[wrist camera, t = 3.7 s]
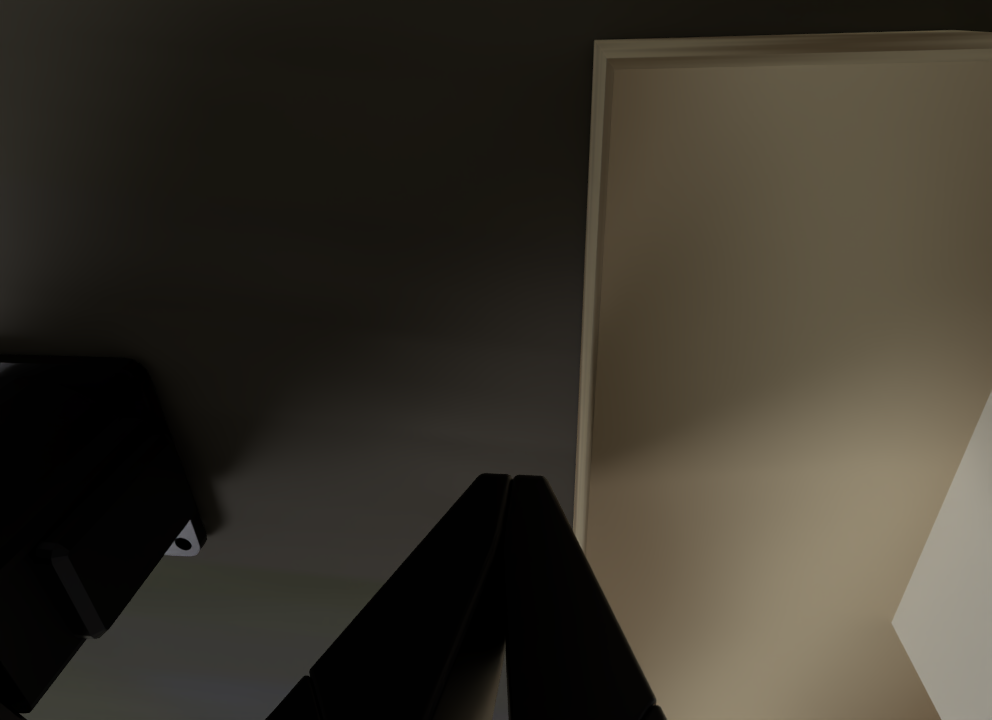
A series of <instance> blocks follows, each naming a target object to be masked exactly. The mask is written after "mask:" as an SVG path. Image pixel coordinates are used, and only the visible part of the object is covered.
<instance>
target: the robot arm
mask: <svg viewBox="0 0 992 720" xmlns="http://www.w3.org/2000/svg"><path fill="white" fill-rule="evenodd" d="M123 376H124V377H126V378H127V379H128V380H129V381H130V383H129V382H128V381H127V380H125V379H124V377H123ZM206 540H207V535H206V532H205V529H204V527H203V524H202V521H201V518H200V515H199V513H198V510H197V507H196V504H195V501H194V499H193V496H192V493H191V490H190V487H189V485H188V482H187V479H186V476H185V473H184V470H183V468H182V465H181V462H180V459H179V456H178V454H177V451H176V448H175V445H174V442H173V440H172V437H171V434H170V431H169V428H168V425H167V423H166V420H165V417H164V414H163V411H162V409H161V406H160V403H159V400H158V397H157V395H156V392H155V389H154V386H153V383H152V381H151V378H150V375H149V373H148V372H147V370H146V369H145V368H144V367H143V366H142V365H141V364H140V363H138V362H136V361H135V360H133V359H128V358H111V357H75V356H39V355H3V354H0V720H27V719H25V718H24V717H23V716H22V715H20V714H19V713H30V712H31V711H32V710H33V708H34V707H35V706H36V704H37V703H38V702H39V700H40V699H41V698H42V697H43V695H44V694H45V693H46V691H47V690H48V689H49V687H50V686H51V685H52V684H53V682H54V681H55V680H56V678H57V677H58V676H59V674H60V673H61V672H62V670H63V669H64V668H65V667H66V665H67V664H68V663H69V661H70V660H71V659H72V657H73V656H74V655H75V653H76V652H77V651H78V650H79V648H80V647H81V646H82V644H83V643H84V642H85V640H86V639H87V638H88V639H97V638H100V637H101V636H102V635H103V634H104V633H105V632H106V631H107V630H108V629H109V628H110V627H111V626H112V624H113V623H114V622H115V620H116V619H117V618H118V616H119V615H120V614H121V612H122V611H123V610H124V608H125V607H126V606H127V604H128V603H129V602H130V600H131V599H132V597H133V596H134V595H135V593H136V592H137V591H138V589H139V588H140V587H141V585H142V584H143V583H144V581H145V580H146V579H147V577H148V576H149V575H150V573H151V572H152V571H153V569H154V568H155V567H156V565H157V564H158V562H159V561H160V560H161V558H162V557H163V556H164V555H175V556H194V555H196V554H198V553H199V551H200V550H201V548H202V547H203V545H204V544H205V542H206ZM505 645H506V673H507V695H508V717H509V720H667V718H666V716H665V714H664V712H663V710H662V708H661V707H660V706H659V705H656V703H657V700H656V697H655V695H654V693H653V691H652V689H651V687H650V685H649V683H648V681H647V679H646V677H645V675H644V673H643V671H642V669H641V667H640V665H639V663H638V661H637V659H636V657H635V655H634V653H633V650H632V648H631V646H630V644H629V642H628V640H627V638H626V636H625V634H624V632H623V630H622V628H621V626H620V624H619V622H618V620H617V618H616V616H615V614H614V612H613V610H612V608H611V606H610V604H609V602H608V600H607V598H606V596H605V594H604V592H603V590H602V588H601V586H600V584H599V582H598V580H597V578H596V576H595V574H594V572H593V570H592V568H591V566H590V564H589V562H588V560H587V558H586V556H585V554H584V552H583V550H582V548H581V546H580V544H579V542H578V540H577V538H576V536H575V534H574V532H573V530H572V528H571V526H570V524H569V522H568V520H567V518H566V516H565V514H564V512H563V510H562V508H561V506H560V504H559V502H558V500H557V498H556V496H555V494H554V492H553V490H552V488H551V486H550V484H549V482H548V480H547V479H546V478H545V477H544V476H534V475H517V476H515V477H514V479H512V477H511V476H510V475H508V474H491V473H484V474H481V475H479V476H478V477H477V478H476V479H475V481H474V482H473V483H472V484H471V485H470V486H469V487H468V489H467V490H466V491H465V492H464V493H463V494H462V495H461V497H460V498H459V499H458V500H457V501H456V502H455V503H454V505H453V506H452V507H451V508H450V509H449V510H448V512H447V513H446V514H445V515H444V516H443V517H442V518H441V520H440V521H439V522H438V523H437V524H436V525H435V526H434V528H433V529H432V530H431V531H430V532H429V533H428V534H427V536H426V537H425V538H424V539H423V540H422V541H421V543H420V544H419V545H418V546H417V547H416V548H415V549H414V551H413V552H412V553H411V554H410V555H409V556H408V557H407V559H406V560H405V561H404V562H403V563H402V564H401V565H400V567H399V568H398V569H397V570H396V571H395V572H394V574H393V575H392V576H391V577H390V578H389V579H388V580H387V582H386V583H385V584H384V585H383V586H382V587H381V588H380V590H379V591H378V592H377V593H376V594H375V595H374V596H373V598H372V599H371V600H370V601H369V602H368V603H367V605H366V606H365V607H364V608H363V609H362V610H361V611H360V613H359V614H358V615H357V616H356V617H355V618H354V619H353V621H352V622H351V623H350V624H349V625H348V626H347V627H346V629H345V630H344V631H343V632H342V633H341V634H340V636H339V637H338V638H337V639H336V640H335V641H334V642H333V644H332V645H331V646H330V647H329V648H328V649H327V650H326V652H325V653H324V654H323V655H322V656H321V657H320V658H319V660H318V661H317V662H316V663H315V664H314V665H313V667H312V668H311V669H310V671H309V674H310V677H309V676H303V677H302V678H301V680H300V681H299V682H298V683H297V684H296V685H295V687H294V688H293V689H292V690H291V691H290V692H289V694H288V695H287V696H286V697H285V698H284V699H283V700H282V702H281V703H280V704H279V705H278V706H277V707H276V708H275V709H274V711H273V712H272V713H271V714H270V715H269V716H268V717H267V718H266V719H265V720H492V716H493V711H494V706H495V701H496V696H497V691H498V686H499V681H500V676H501V671H502V665H503V659H504V653H505Z"/></svg>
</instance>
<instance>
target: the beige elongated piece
mask: <svg viewBox="0 0 992 720" xmlns="http://www.w3.org/2000/svg"><path fill="white" fill-rule="evenodd" d="M991 391H992V32H978V31H962V30H935V31H900V32H864V33H829V34H793V35H758V36H722V37H687V38H651V39H616V40H594V58H593V81H592V104H591V127H590V150H589V173H588V197H587V220H586V243H585V266H584V289H583V312H582V335H581V358H580V382H579V405H578V428H577V451H576V474H575V497H574V520H573V532H574V534H575V536H576V538H577V540H578V542H579V544H580V546H581V548H582V550H583V552H584V554H585V556H586V558H587V560H588V562H589V564H590V566H591V568H592V570H593V572H594V574H595V576H596V578H597V580H598V582H599V584H600V586H601V588H602V590H603V592H604V594H605V596H606V598H607V600H608V602H609V604H610V606H611V608H612V610H613V612H614V614H615V616H616V618H617V620H618V622H619V624H620V626H621V628H622V630H623V632H624V634H625V636H626V638H627V640H628V642H629V644H630V646H631V648H632V650H633V653H634V655H635V657H636V659H637V661H638V663H639V665H640V667H641V669H642V671H643V673H644V675H645V677H646V679H647V681H648V683H649V685H650V687H651V689H652V691H653V693H654V695H655V697H656V700H657V703H656V705H659V706H660V707H661V708H662V710H663V712H664V714H665V716H666V718H667V720H941V718H940V716H939V714H938V712H937V710H936V708H935V706H934V704H933V702H932V700H931V698H930V697H929V695H928V693H927V691H926V689H925V687H924V685H923V683H922V681H921V679H920V677H919V675H918V673H917V672H916V670H915V668H914V666H913V664H912V662H911V660H910V658H909V656H908V654H907V652H906V650H905V648H904V646H903V645H902V643H901V641H900V639H899V637H898V635H897V633H896V631H895V629H894V627H893V625H892V623H891V622H892V620H893V618H894V616H895V613H896V611H897V609H898V606H899V604H900V602H901V599H902V597H903V595H904V592H905V590H906V588H907V585H908V583H909V581H910V578H911V576H912V574H913V571H914V569H915V567H916V565H917V562H918V560H919V558H920V555H921V553H922V551H923V548H924V546H925V544H926V541H927V539H928V537H929V534H930V532H931V530H932V527H933V525H934V523H935V520H936V518H937V516H938V513H939V511H940V509H941V507H942V504H943V502H944V500H945V497H946V495H947V493H948V490H949V488H950V486H951V483H952V481H953V479H954V476H955V474H956V472H957V469H958V467H959V465H960V462H961V460H962V458H963V456H964V453H965V451H966V449H967V446H968V444H969V442H970V439H971V437H972V435H973V432H974V430H975V428H976V425H977V423H978V421H979V418H980V416H981V414H982V411H983V409H984V407H985V405H986V402H987V400H988V398H989V395H990V393H991Z"/></svg>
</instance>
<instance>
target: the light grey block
mask: <svg viewBox="0 0 992 720" xmlns="http://www.w3.org/2000/svg"><path fill="white" fill-rule="evenodd" d="M891 623H892V625H893V627H894V629H895V631H896V633H897V635H898V637H899V639H900V641H901V643H902V645H903V646H904V648H905V650H906V652H907V654H908V656H909V658H910V660H911V662H912V664H913V666H914V668H915V670H916V672H917V673H918V675H919V677H920V679H921V681H922V683H923V685H924V687H925V689H926V691H927V693H928V695H929V697H930V698H931V700H932V702H933V704H934V706H935V708H936V710H937V712H938V714H939V716H940V718H941V720H992V391H991V393H990V395H989V398H988V400H987V402H986V405H985V407H984V409H983V411H982V414H981V416H980V418H979V421H978V423H977V425H976V428H975V430H974V432H973V435H972V437H971V439H970V442H969V444H968V446H967V449H966V451H965V453H964V456H963V458H962V460H961V462H960V465H959V467H958V469H957V472H956V474H955V476H954V479H953V481H952V483H951V486H950V488H949V490H948V493H947V495H946V497H945V500H944V502H943V504H942V507H941V509H940V511H939V513H938V516H937V518H936V520H935V523H934V525H933V527H932V530H931V532H930V534H929V537H928V539H927V541H926V544H925V546H924V548H923V551H922V553H921V555H920V558H919V560H918V562H917V565H916V567H915V569H914V571H913V574H912V576H911V578H910V581H909V583H908V585H907V588H906V590H905V592H904V595H903V597H902V599H901V602H900V604H899V606H898V609H897V611H896V613H895V616H894V618H893V620H892V622H891Z"/></svg>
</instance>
